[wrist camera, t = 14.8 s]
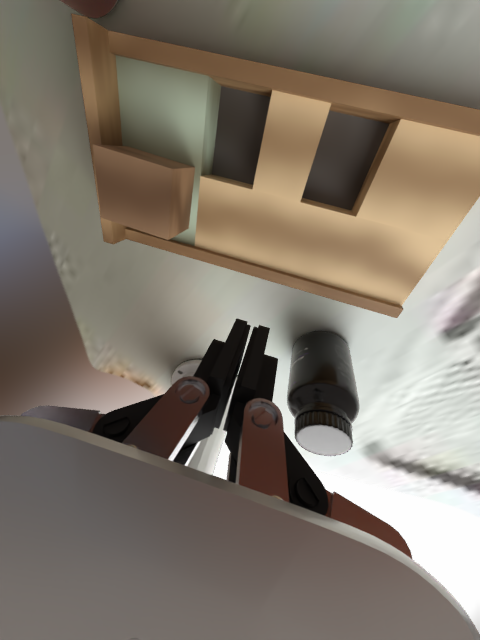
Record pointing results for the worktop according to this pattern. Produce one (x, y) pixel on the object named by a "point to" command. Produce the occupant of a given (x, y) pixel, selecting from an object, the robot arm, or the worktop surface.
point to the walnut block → (143, 190)
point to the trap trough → (287, 165)
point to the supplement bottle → (322, 393)
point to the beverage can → (91, 7)
